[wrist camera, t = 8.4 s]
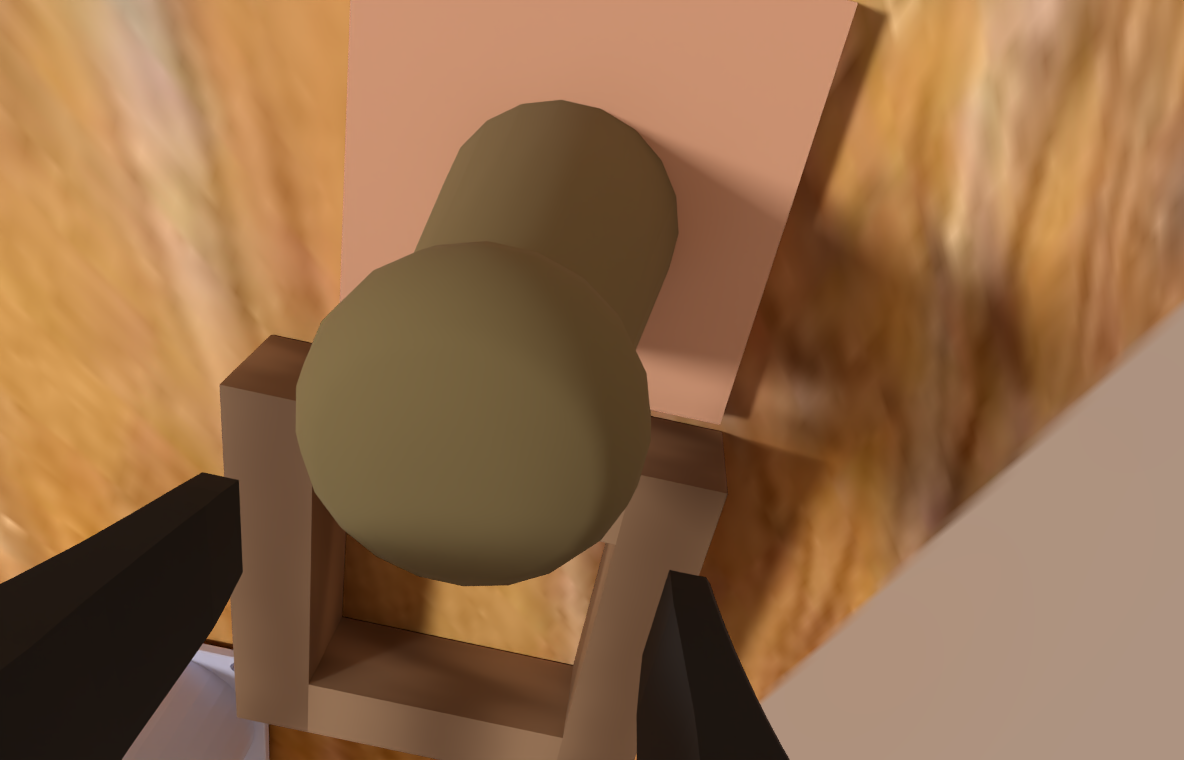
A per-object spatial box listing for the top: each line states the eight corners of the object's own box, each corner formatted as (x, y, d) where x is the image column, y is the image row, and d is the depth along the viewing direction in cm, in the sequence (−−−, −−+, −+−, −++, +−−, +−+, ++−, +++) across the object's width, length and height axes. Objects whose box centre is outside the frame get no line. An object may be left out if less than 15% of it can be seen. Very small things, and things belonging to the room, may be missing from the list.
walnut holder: (275, 649, 30) (236, 717, 27) (271, 334, 23) (219, 384, 21) (625, 723, 30) (620, 797, 27) (721, 431, 23) (727, 493, 21)
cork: (533, 42, 18) (366, 158, 8) (730, 210, 19) (782, 474, 10) (396, 238, 20) (150, 498, 11) (579, 373, 22) (503, 707, 12)
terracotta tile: (348, 330, 23) (338, 342, 22) (366, -108, 17) (353, -110, 17) (718, 410, 23) (719, 424, 22) (850, 0, 18) (858, 2, 17)
